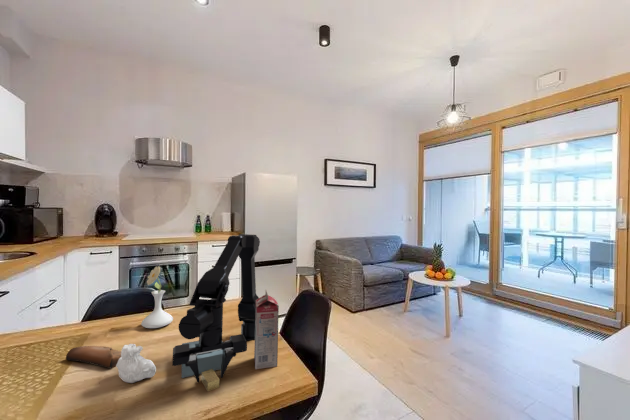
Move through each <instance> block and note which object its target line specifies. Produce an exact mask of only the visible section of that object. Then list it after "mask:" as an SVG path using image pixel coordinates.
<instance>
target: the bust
mask: <svg viewBox="0 0 630 420" xmlns="http://www.w3.org/2000/svg"><path fill="white" fill-rule="evenodd" d="M143 350H144V349H143V346H142V345H136V344H135V343H129V344H124V345H123V346H122V347H121V350H120V351H121V357H120V358H119V360H118V363H117V365H116V367H115V368H117V371H118V377H119V378H120V379H121V380H122V381H123V382H125V383H128V384H129V383H130V384H133V383H136V382H140V381H142V380H143V379H149V378H153V377H154V376H155V374H156V373H157V368H156V365H155V364H154V362H153V361H152V360H151V359H147V358H145V357H144V356H142V355H141V351H143Z"/></svg>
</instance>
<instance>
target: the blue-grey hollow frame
mask: <svg viewBox="0 0 630 420" xmlns="http://www.w3.org/2000/svg"><path fill="white" fill-rule="evenodd" d="M222 342H224V341H223V340H222ZM188 343H189V348H193V347H199V346H200V344H199V340H195V341H194V340H193V341H188V342H182V343H181V345H183V344H188ZM222 355H223V350H219V351H214V352H209V353H204V354H199V355H197V361H198V369H199V375H201V373H202V372H204V371H207V370H210V369H213V370H214V372H216V371H218V370H219V371H220V370H221V363H222ZM193 376H195V375H194V373H193V371H192V369H191V368H190V366H187V367H186V366H185V364H182V365H181V378H182V379H183V378H188V377H193Z"/></svg>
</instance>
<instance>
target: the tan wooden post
mask: <svg viewBox="0 0 630 420" xmlns="http://www.w3.org/2000/svg"><path fill="white" fill-rule="evenodd" d="M200 376H201V378H200V379H201V382H202V384H203V386H204V388H205V389H206V392H210V391H213V390H216V389H219V388H220V377H219V376H218V375H217V373H216V371H214V370H213V369H210V370H207V371H204V372H202V373H201V374H200Z"/></svg>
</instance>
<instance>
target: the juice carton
mask: <svg viewBox="0 0 630 420" xmlns="http://www.w3.org/2000/svg"><path fill="white" fill-rule="evenodd" d="M278 346H279V304H278V301H277V299H276V298H275V297H273V296H271V295H269V294H268V292H267V290H265V294H264V295H262V296H261V297H259V298H258V299H257V300H256V308H255V339H254V351H253V352H254V354H253V357H254V369H255V370H261V369H265V368H275V367H276V368H277V367H278V355H279V354H278V349H279V347H278Z"/></svg>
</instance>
